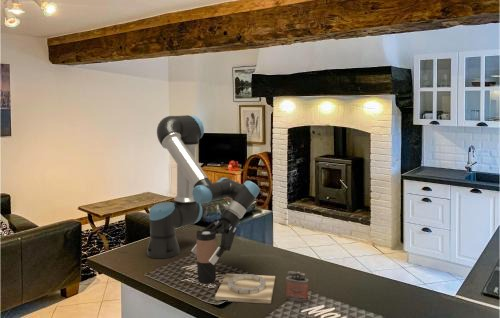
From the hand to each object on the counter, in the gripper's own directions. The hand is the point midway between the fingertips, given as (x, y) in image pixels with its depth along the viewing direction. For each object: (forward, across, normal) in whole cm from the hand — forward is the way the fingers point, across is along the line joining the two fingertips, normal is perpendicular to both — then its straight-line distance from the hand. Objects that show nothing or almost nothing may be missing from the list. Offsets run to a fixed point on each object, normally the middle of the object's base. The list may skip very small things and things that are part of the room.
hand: (202, 257), depth 158 cm
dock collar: (-1, -16, -13) cm, 21 cm away
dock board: (0, -16, -14) cm, 21 cm away
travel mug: (+6, 0, -8) cm, 10 cm away
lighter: (-7, -33, -21) cm, 40 cm away
